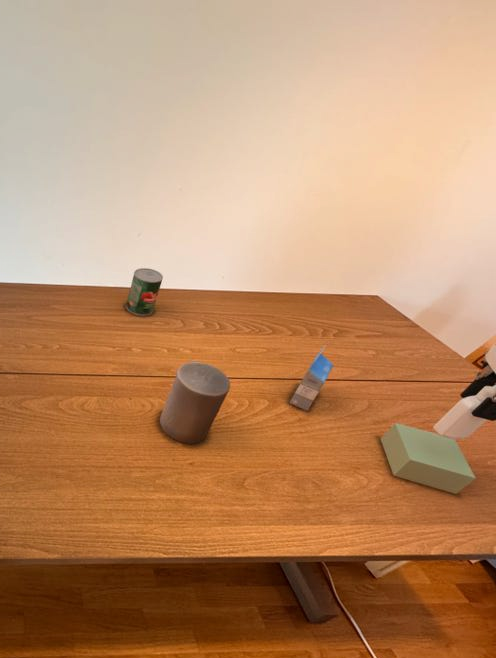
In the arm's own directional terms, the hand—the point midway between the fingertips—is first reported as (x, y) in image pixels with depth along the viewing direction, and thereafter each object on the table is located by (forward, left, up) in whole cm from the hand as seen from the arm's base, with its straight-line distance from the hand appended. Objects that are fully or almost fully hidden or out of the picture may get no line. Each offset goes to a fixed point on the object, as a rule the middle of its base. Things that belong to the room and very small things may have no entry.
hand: (477, 407), depth 73 cm
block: (0, 0, -16) cm, 16 cm away
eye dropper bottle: (0, 0, -7) cm, 7 cm away
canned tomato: (+60, -34, -16) cm, 71 cm away
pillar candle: (+44, +9, -16) cm, 48 cm away
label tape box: (+19, -12, -16) cm, 28 cm away
